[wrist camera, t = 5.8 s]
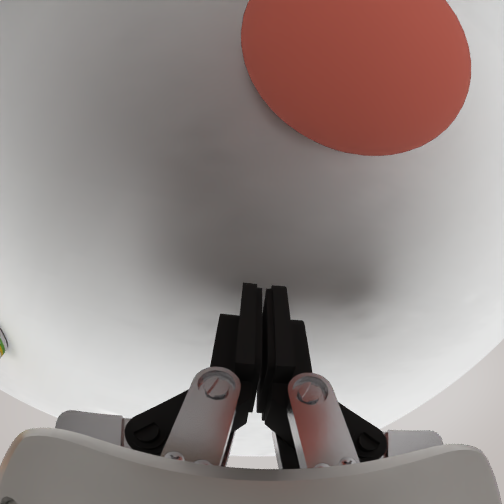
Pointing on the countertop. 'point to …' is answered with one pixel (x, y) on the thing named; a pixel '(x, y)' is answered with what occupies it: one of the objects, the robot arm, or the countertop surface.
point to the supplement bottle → (2, 344)
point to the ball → (359, 69)
